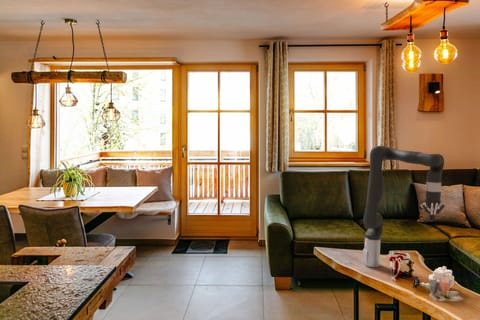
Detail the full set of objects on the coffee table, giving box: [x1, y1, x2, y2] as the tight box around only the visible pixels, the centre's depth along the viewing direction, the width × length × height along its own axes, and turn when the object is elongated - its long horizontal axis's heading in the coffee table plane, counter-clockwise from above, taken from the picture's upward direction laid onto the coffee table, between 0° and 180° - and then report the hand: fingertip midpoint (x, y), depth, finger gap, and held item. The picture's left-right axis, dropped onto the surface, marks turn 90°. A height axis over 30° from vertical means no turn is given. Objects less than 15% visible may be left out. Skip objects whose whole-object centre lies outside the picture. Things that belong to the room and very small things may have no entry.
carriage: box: [439, 280, 451, 297], centre depth 187 cm, size 3×5×7 cm, turn 2°
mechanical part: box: [428, 265, 455, 290], centre depth 198 cm, size 11×12×12 cm
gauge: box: [428, 280, 465, 302], centre depth 186 cm, size 14×6×8 cm, turn 92°
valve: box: [412, 275, 431, 293], centre depth 194 cm, size 7×7×12 cm
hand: (431, 221), depth 203 cm, fingers closed
